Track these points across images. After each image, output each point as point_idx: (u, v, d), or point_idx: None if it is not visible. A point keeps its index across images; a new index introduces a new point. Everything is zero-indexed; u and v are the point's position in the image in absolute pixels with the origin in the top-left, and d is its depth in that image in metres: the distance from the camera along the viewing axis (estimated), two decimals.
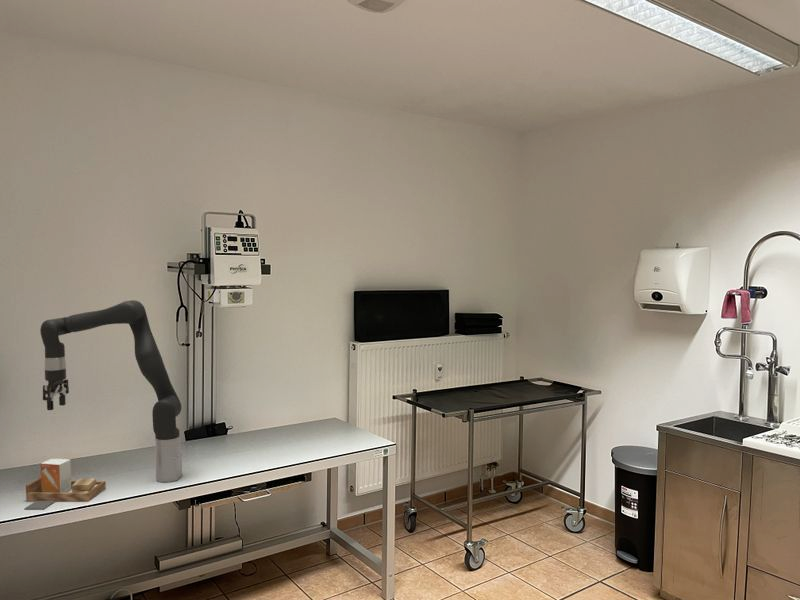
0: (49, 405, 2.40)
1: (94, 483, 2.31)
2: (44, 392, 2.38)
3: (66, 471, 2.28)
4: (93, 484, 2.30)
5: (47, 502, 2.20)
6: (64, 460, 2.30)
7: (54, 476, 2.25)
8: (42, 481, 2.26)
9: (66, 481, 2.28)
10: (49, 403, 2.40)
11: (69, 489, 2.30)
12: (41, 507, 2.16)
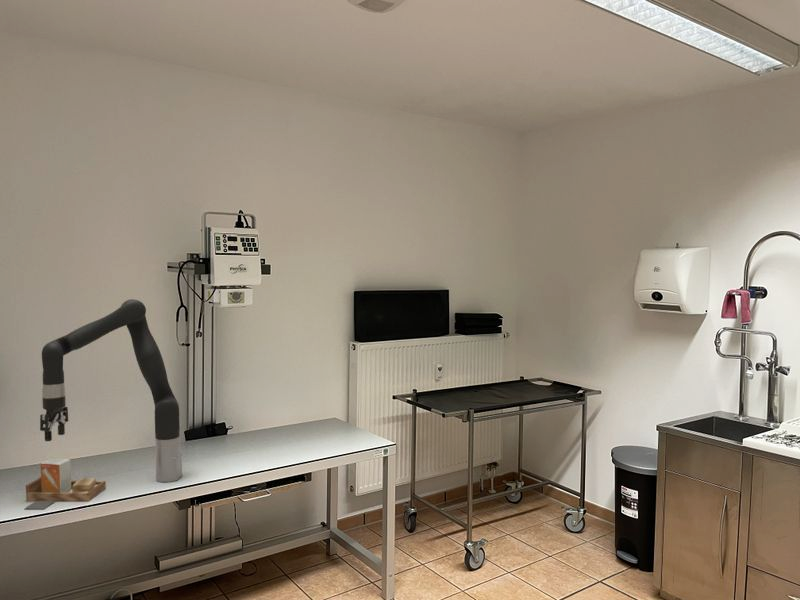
0: (47, 436, 2.22)
1: (94, 483, 2.31)
2: (42, 422, 2.20)
3: (66, 471, 2.28)
4: (93, 484, 2.30)
5: (47, 502, 2.20)
6: (64, 460, 2.30)
7: (54, 476, 2.25)
8: (42, 481, 2.26)
9: (66, 481, 2.28)
10: (47, 434, 2.22)
11: (69, 489, 2.30)
12: (41, 507, 2.16)
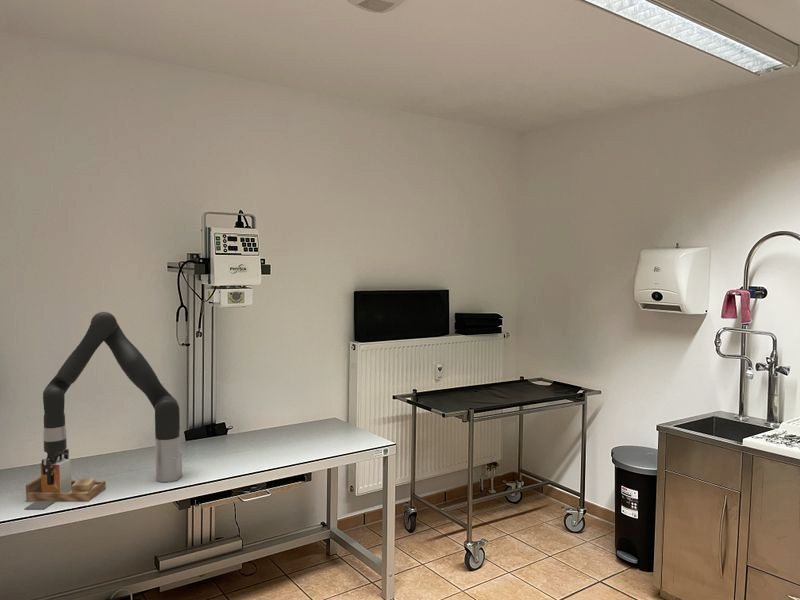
0: (49, 480, 2.24)
1: (93, 483, 2.31)
2: (43, 467, 2.22)
3: (66, 471, 2.28)
4: (92, 484, 2.30)
5: (47, 502, 2.20)
6: (64, 460, 2.30)
7: (54, 476, 2.25)
8: (42, 481, 2.26)
9: (66, 480, 2.28)
10: (49, 477, 2.24)
11: (69, 489, 2.30)
12: (41, 507, 2.16)
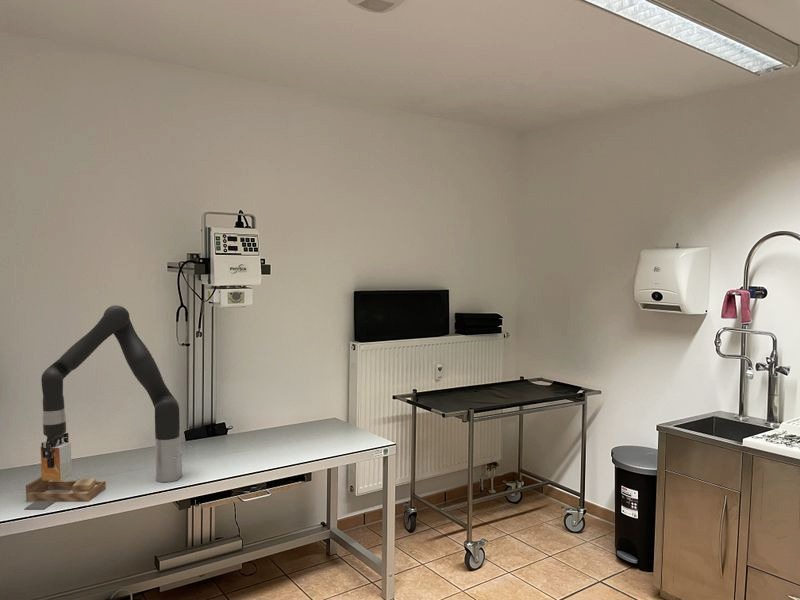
0: (49, 463, 2.24)
1: (94, 483, 2.31)
2: (43, 450, 2.21)
3: (66, 454, 2.28)
4: (93, 484, 2.30)
5: (47, 502, 2.20)
6: (64, 443, 2.29)
7: (54, 459, 2.25)
8: (42, 464, 2.26)
9: (66, 464, 2.28)
10: (49, 461, 2.24)
11: (69, 472, 2.30)
12: (41, 507, 2.16)
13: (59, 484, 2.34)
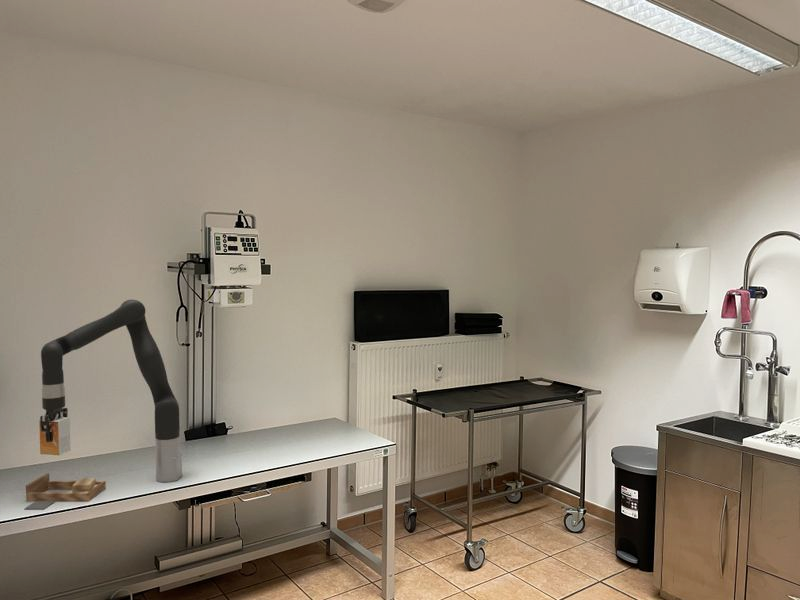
0: (48, 436, 2.23)
1: (94, 483, 2.31)
2: (42, 423, 2.21)
3: (64, 428, 2.27)
4: (93, 484, 2.30)
5: (47, 502, 2.20)
6: (63, 418, 2.29)
7: (53, 433, 2.24)
8: (41, 438, 2.25)
9: (64, 438, 2.27)
10: (48, 434, 2.23)
11: (68, 447, 2.29)
12: (41, 507, 2.16)
13: (59, 484, 2.34)
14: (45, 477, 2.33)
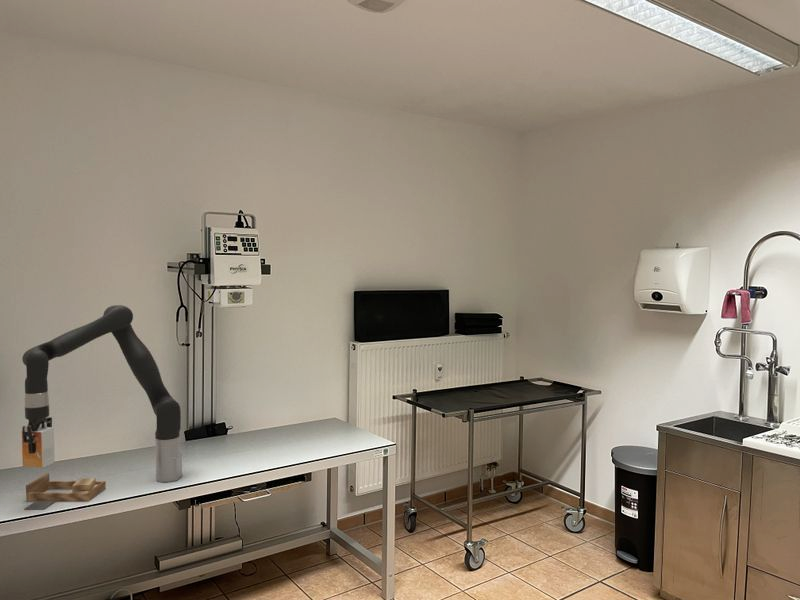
0: (31, 448, 2.13)
1: (94, 483, 2.31)
2: (24, 434, 2.10)
3: (48, 439, 2.17)
4: (93, 484, 2.30)
5: (47, 502, 2.20)
6: (47, 428, 2.18)
7: (36, 444, 2.14)
8: (23, 450, 2.15)
9: (48, 449, 2.17)
10: (31, 445, 2.13)
11: (52, 458, 2.19)
12: (41, 507, 2.16)
13: (59, 484, 2.34)
14: (45, 477, 2.33)
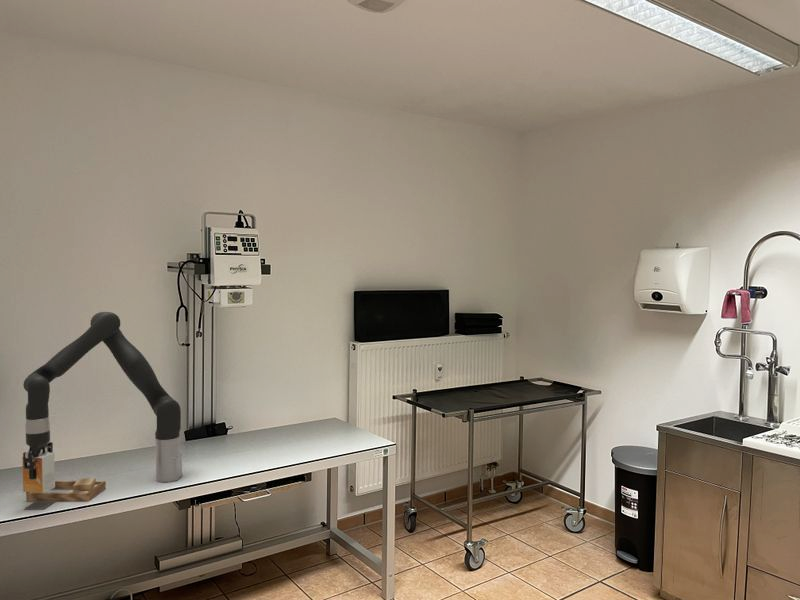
0: (31, 474, 2.13)
1: (94, 483, 2.32)
2: (25, 460, 2.11)
3: (49, 465, 2.17)
4: (93, 484, 2.31)
5: (47, 502, 2.20)
6: (48, 453, 2.19)
7: (37, 470, 2.14)
8: (24, 475, 2.15)
9: (49, 475, 2.17)
10: (31, 471, 2.13)
11: (52, 484, 2.19)
12: (41, 507, 2.16)
13: (59, 484, 2.34)
14: None
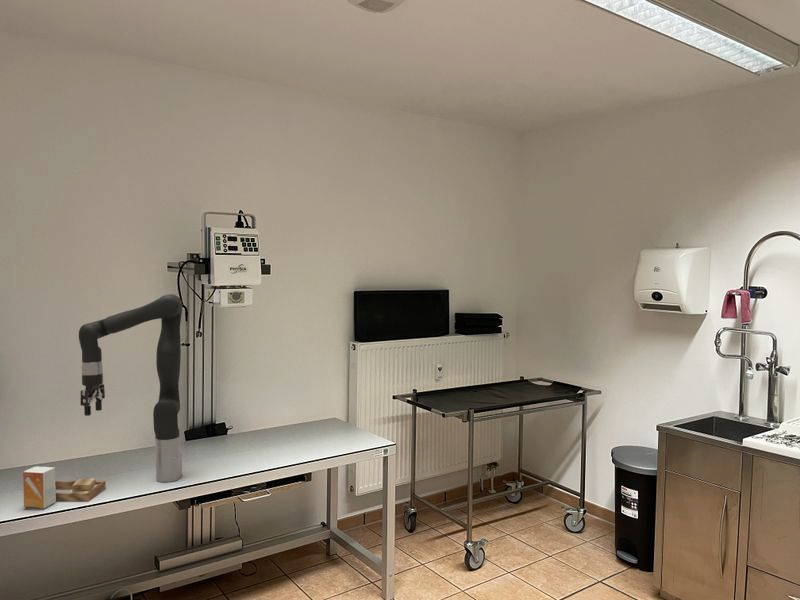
0: (87, 410, 2.36)
1: (94, 483, 2.31)
2: (82, 397, 2.34)
3: (50, 479, 2.18)
4: (93, 484, 2.30)
5: None
6: (48, 468, 2.19)
7: (38, 485, 2.15)
8: (25, 490, 2.16)
9: (50, 490, 2.18)
10: (87, 408, 2.36)
11: (53, 498, 2.20)
12: None
13: (59, 484, 2.34)
14: None
